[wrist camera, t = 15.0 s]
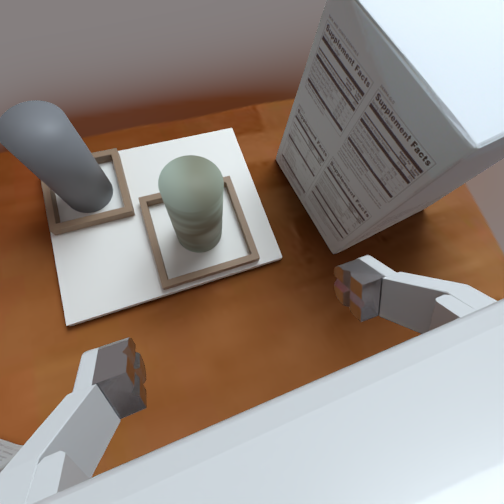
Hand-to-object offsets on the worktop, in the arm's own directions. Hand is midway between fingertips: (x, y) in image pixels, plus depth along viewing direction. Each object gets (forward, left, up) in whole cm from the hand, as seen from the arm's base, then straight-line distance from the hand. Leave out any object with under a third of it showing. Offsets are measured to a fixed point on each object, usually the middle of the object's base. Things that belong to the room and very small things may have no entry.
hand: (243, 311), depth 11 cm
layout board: (-3, +13, -16) cm, 21 cm away
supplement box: (+18, +11, -16) cm, 27 cm away
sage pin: (0, +10, -15) cm, 18 cm away
